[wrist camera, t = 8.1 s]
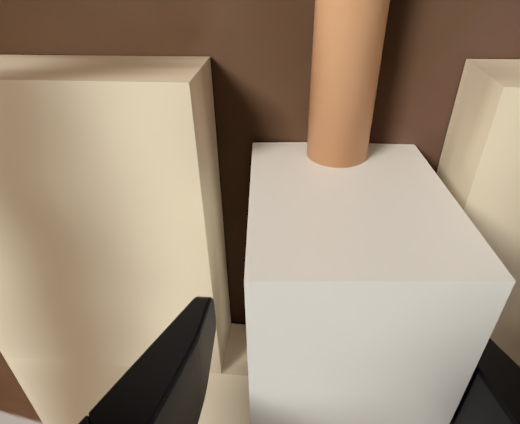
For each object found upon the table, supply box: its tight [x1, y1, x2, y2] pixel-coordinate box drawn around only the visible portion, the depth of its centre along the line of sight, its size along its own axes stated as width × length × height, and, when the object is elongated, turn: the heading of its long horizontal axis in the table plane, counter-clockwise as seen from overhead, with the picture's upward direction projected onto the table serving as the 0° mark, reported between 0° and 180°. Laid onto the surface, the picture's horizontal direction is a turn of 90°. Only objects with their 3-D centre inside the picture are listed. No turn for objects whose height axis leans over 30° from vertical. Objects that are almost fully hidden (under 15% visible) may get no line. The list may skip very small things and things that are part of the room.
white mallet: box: [244, 0, 516, 424], centre depth 7 cm, size 4×15×5 cm, turn 1°
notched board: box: [0, 55, 520, 424], centre depth 12 cm, size 20×14×2 cm
